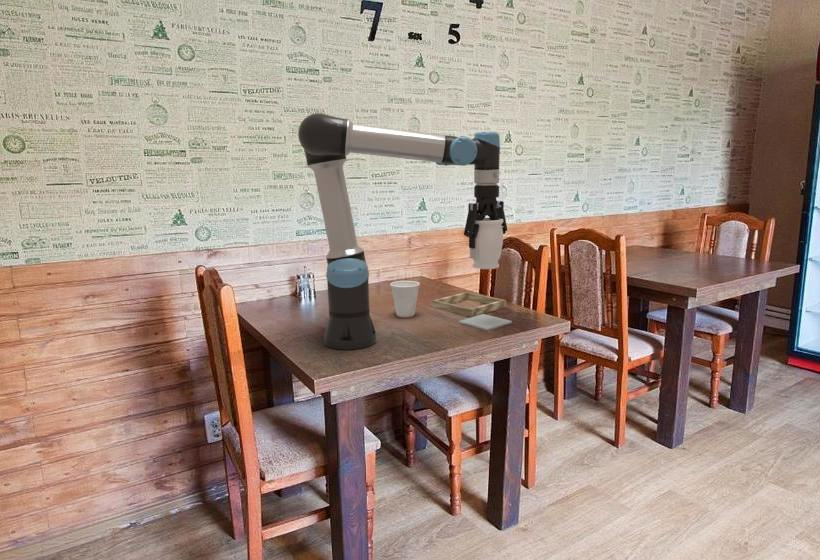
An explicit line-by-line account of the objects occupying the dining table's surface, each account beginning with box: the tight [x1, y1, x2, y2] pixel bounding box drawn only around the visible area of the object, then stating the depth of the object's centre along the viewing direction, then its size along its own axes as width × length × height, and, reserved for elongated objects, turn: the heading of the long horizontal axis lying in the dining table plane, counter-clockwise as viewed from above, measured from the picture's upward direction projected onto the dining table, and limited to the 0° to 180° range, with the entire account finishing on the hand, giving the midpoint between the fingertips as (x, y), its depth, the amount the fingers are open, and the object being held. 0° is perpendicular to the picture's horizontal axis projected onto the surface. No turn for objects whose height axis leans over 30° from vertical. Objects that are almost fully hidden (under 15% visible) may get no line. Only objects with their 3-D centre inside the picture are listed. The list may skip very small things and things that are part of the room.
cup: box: [389, 280, 421, 318], centre depth 186 cm, size 10×10×11 cm
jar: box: [472, 217, 504, 270], centre depth 171 cm, size 11×10×15 cm
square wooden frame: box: [431, 291, 507, 318], centre depth 196 cm, size 18×18×2 cm
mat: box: [458, 313, 513, 332], centre depth 176 cm, size 12×12×1 cm
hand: (485, 256), depth 172 cm, fingers closed on jar, 10 cm apart
